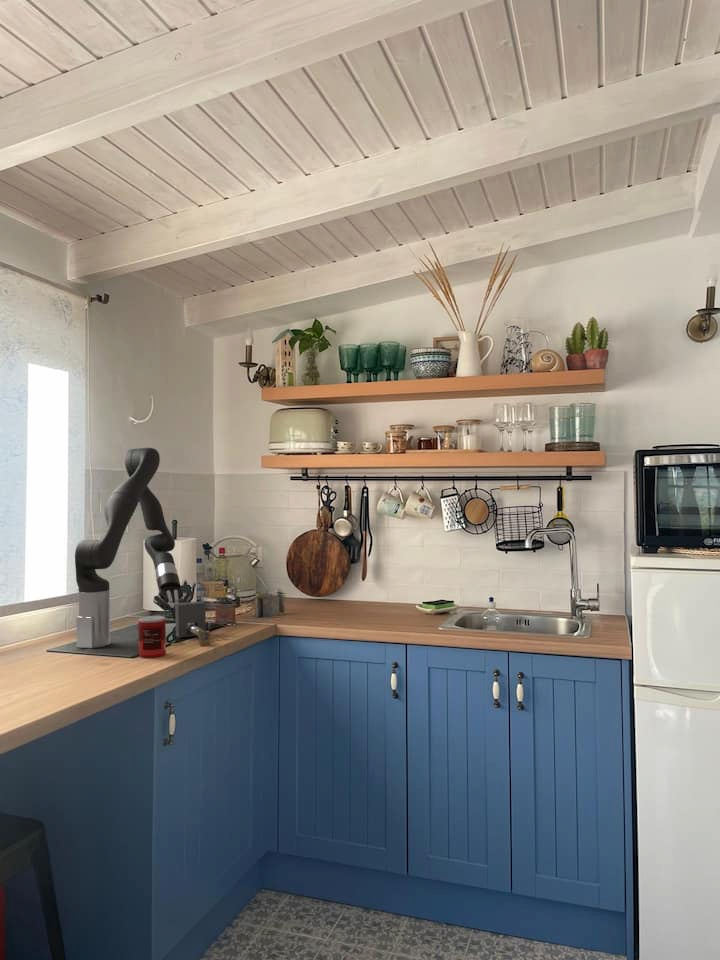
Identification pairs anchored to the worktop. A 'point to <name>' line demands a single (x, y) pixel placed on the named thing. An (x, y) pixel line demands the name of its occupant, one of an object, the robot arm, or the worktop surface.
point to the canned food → (152, 636)
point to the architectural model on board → (269, 605)
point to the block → (189, 617)
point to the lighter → (225, 611)
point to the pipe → (203, 635)
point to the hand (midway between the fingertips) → (176, 618)
